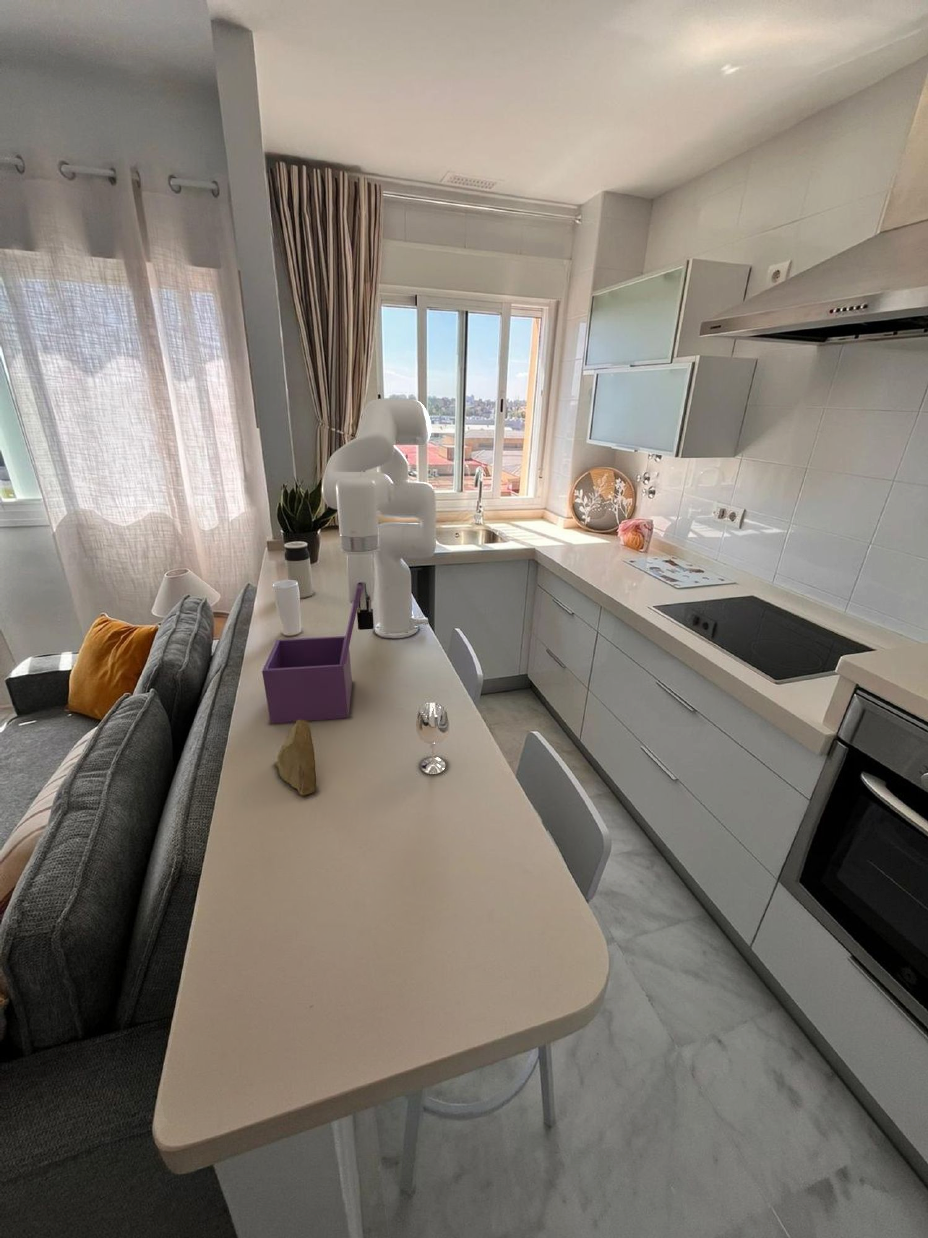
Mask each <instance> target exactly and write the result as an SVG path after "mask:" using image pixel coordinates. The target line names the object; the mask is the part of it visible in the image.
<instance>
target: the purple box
mask: <svg viewBox="0 0 928 1238" xmlns="http://www.w3.org/2000/svg"><path fill="white" fill-rule="evenodd" d="M345 638H346V635H341V636H337V635H336V636H320V637H302V638H301V637H300V638H299V637H298V638H283V639H282V638H281V639H276V640H275V642H274V644H273V646H272V648H271V650H270V653H269V654H268V657H267V659H266V661H265V663H264V665H263V668H262V670H261V673H262V679H263V687H264V691H265V698H266V704H267V709H268V716H269V721H270V722H269V723H270V724H271V725H273V724H282V723H283V724H284V723H285V724H287V723H296V721H297V720H298V719H301V720H305V721H307V722H312V721H324V720H336V719H337V720H338V719H339V720H340V719H348V718H349V716H350V715H349V714H350V707H351V696H352V687H353V677H352V666H351V655H350V648H349V649H348V654H347V659H346V663H345V664H341V662H342V656H343V650H344V644H345Z"/></svg>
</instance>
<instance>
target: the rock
mask: <svg viewBox="0 0 928 1238" xmlns="http://www.w3.org/2000/svg"><path fill="white" fill-rule="evenodd" d="M275 766H276V767H277V769H278V774H279V777H281V778H282V779H283V781H284V782H286V783H287V784H289V785H290V786H291V787H292V788H294V789H296V790H297V791H298V794H299V795H300V796H302V797H303V796H307V795H309V794H313V793H315V792H316V787H317V784H316V783H317V771H316V758H315V749H314V743H313V738H312V730H311V725H310V721H305V720H301V719H298V720H297V721H296V722H294V724H293V725H292V727H291V729H290V731H288V734H287V736H286V737H285V742H284V743H283V744H282V745H281V748H280V750H279V753H278V755H277V761H276V763H275Z"/></svg>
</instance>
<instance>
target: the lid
mask: <svg viewBox="0 0 928 1238" xmlns="http://www.w3.org/2000/svg"><path fill="white" fill-rule="evenodd" d="M361 588H362V583H358V585H357V590H356V594H355V599H354V602H352V603H351V608H350V614H349V618H348V623H347V627H346V632H345V636H346V638H345V644H344V650H343V656H342V662H341V664H345V663H346V659H347V654H348V649H349V650H350V644H351V641H352V635H353V630H354V625H355V620H356V617H357V607H358V602H359V598H360V593H361Z"/></svg>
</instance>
